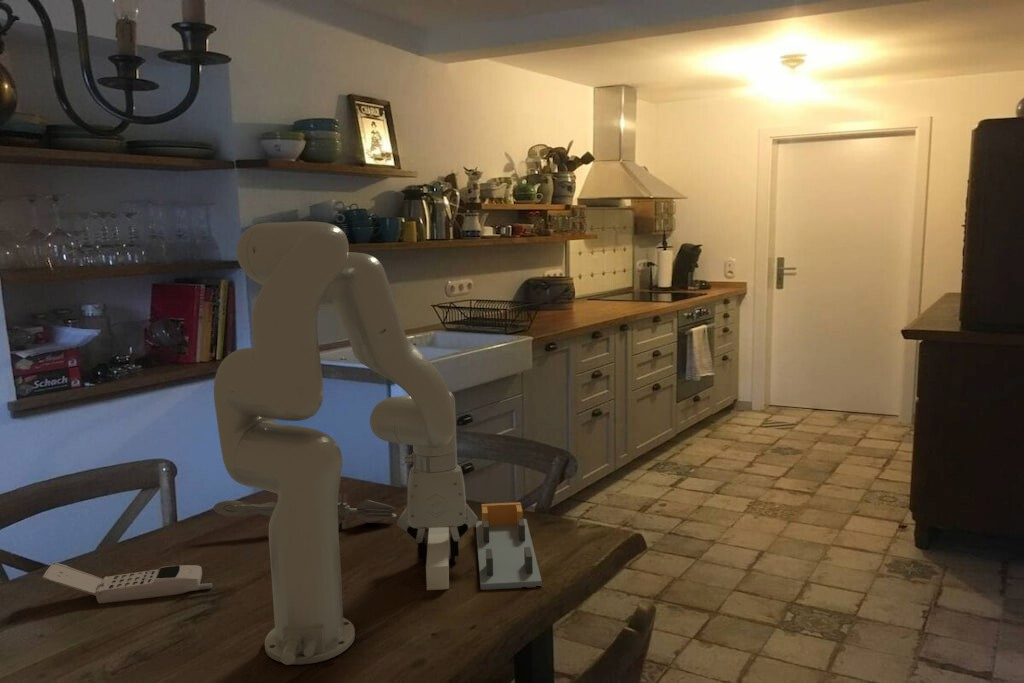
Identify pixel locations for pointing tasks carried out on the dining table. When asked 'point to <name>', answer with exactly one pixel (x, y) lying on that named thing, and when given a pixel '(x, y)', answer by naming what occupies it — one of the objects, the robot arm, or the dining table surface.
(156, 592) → the mobile phone
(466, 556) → the dining table surface
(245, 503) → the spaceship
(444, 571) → the long cream stick
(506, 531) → the clip rail
